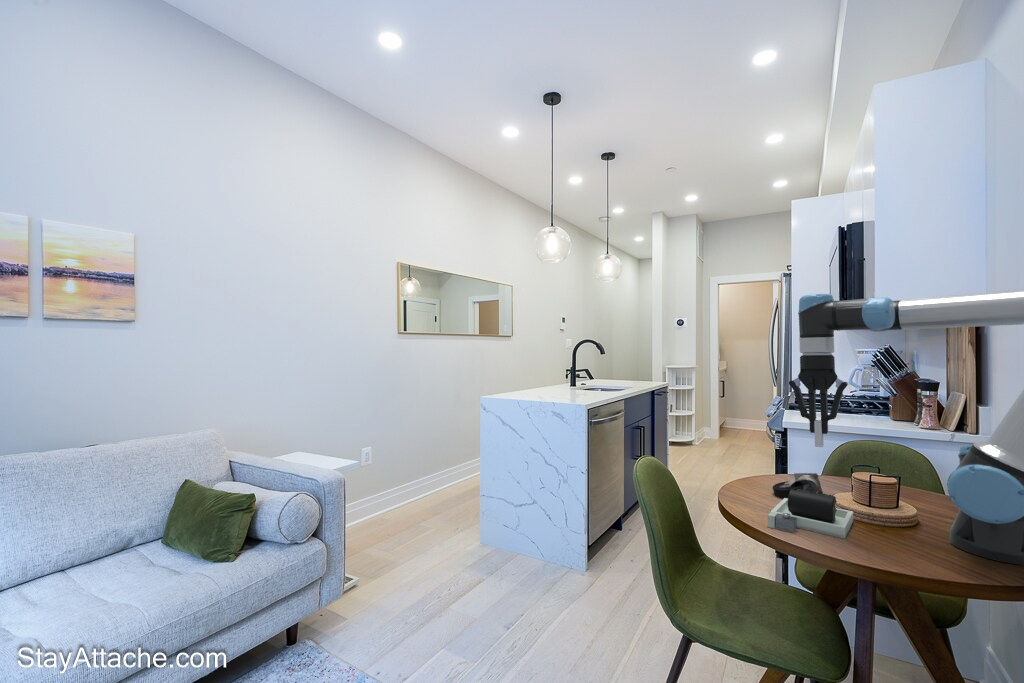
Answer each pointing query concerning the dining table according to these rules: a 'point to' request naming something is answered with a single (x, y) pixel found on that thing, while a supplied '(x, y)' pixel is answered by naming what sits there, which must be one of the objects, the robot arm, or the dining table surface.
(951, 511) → the dining table surface
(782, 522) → the block
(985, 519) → the robot arm
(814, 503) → the end cap
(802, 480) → the caster wheel
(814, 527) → the pale green tray
